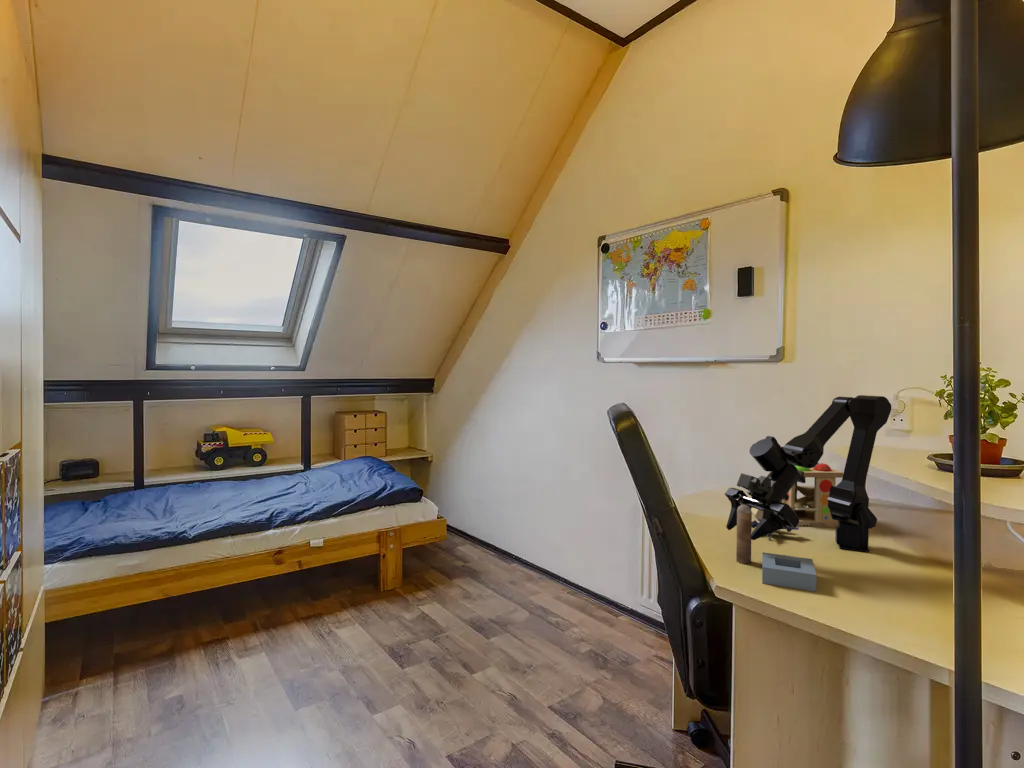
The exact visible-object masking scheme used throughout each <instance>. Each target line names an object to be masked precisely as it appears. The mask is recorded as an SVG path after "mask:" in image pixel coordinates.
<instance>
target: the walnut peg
mask: <svg viewBox="0 0 1024 768" xmlns="http://www.w3.org/2000/svg"><path fill="white" fill-rule="evenodd" d="M751 509H752V508H750V507H749V506H747V505H740V506H739V507H738V509H737V525H736V554H735V555H736V557H735V558H736V562H737V563H738V562H739V564H741V563H742V564H741V565H750V564H752V539H751V538H750V536H751V534H752V532H753V530H752V529H753V528H752V522H753V521H752V517H753V514H752V511H751Z"/></svg>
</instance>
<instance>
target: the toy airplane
mask: <svg viewBox="0 0 1024 768" xmlns="http://www.w3.org/2000/svg"><path fill="white" fill-rule="evenodd" d="M760 521H761V519H758V521H757V520H753V521H752V529H755V528H756V526H757V525H758V524H759V522H760ZM799 527H800V526H796V527H795V529H793V528H790V527H787V528H786V529H785V530H786V532H788V533H790V532H792V531H793V530H795V531H798V530H799V529H800V528H799ZM772 534H774V532H772V533H769V534H767V538H766V539H768V541H771V540H772V537H771V536H769V535H772ZM777 534H778V535H780V534H781V529H780V530H777Z"/></svg>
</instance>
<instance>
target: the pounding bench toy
mask: <svg viewBox="0 0 1024 768" xmlns="http://www.w3.org/2000/svg"><path fill="white" fill-rule="evenodd" d="M794 466H795V465H794ZM795 467H796V468H797V469H798V470H799V471H802V472H804V477H805V479H806V478H814V485H798V482H797V481H796V482H795V484H794V485H793V486H792V488H791V489H790V490H789V492H788V493H787V495H788V496H789V499H788V500H784V499H783V500H782V501H781V503H785V504H788V505H789V506H790V507H791V508H792V509H793V511H794V512H795V513H796V514H797V515H798V516H799V523H798V525H797V526H796V527H804V526H803V525H808V526H807V527H836V526H838V520H833V519H832V517H831V513H830V509H829V508H828V501H827V498H828V496H829V492H830V487H831V486H832V485H833V486H837V485H836V478H837V479H839V478H841V479H842V478H843V473H844V471H841V470H837V469H833V468H831V467H830V465H829V464H827V463H823V462H821V463H819V462H818V463H817V464H816V465H815V466H814V467H813V468H804V467H800V466H795ZM798 492H799V493H801V494H802V495H803V496H802V497H799V498H798ZM751 511H752V516H754V517H755V518H756V519H758V520H759V519H762V518H763V511H761V510H759V509H756V508H753V507H752V508H751ZM800 525H801V526H800ZM810 525H812V526H810Z"/></svg>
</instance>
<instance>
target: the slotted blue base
mask: <svg viewBox="0 0 1024 768" xmlns="http://www.w3.org/2000/svg"><path fill="white" fill-rule="evenodd" d="M761 554H762V558H761V559H762V562H761V563H762V565H761V567H762V568H761V572H762V573H761V574H762V575H761V576H762V577H761V578H762V581H761V582H762V584H765V585H772V586H777V587H784V588H791V589H797V590H802V591H803V590H804V591H807V592H808V591H809V592H816V593H817V572H816V568H815V564H814V561H813V558H807V557H799V556H793V555H785V554H779V553H772V552H771V553H770V552H762V553H761Z"/></svg>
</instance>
